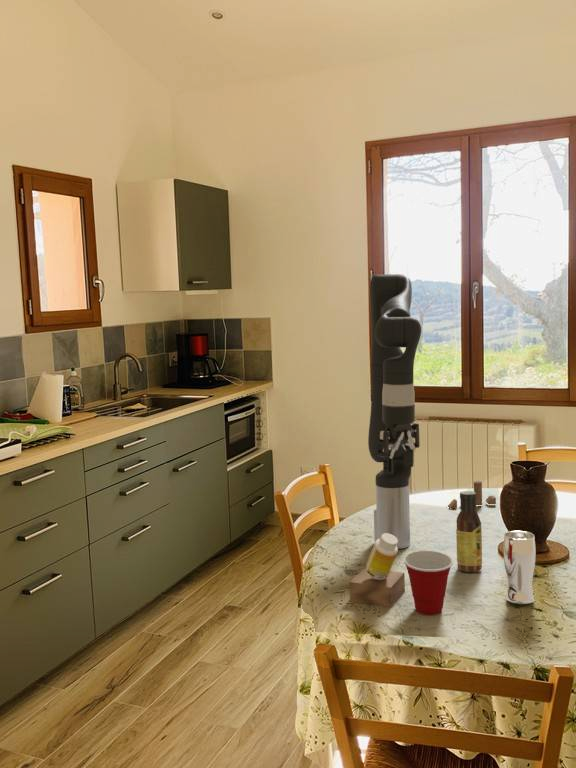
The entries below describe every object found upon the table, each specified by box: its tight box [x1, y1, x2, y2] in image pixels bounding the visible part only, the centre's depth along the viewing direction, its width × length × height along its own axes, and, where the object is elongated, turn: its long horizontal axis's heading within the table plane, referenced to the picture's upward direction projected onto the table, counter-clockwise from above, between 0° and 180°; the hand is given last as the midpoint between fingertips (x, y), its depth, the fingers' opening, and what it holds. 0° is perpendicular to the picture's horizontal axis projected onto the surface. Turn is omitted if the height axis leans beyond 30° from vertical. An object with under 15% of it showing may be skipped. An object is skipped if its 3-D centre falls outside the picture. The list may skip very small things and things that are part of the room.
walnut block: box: [349, 567, 406, 608], centre depth 176 cm, size 10×10×5 cm
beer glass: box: [503, 530, 537, 605], centre depth 170 cm, size 7×7×15 cm
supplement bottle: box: [364, 533, 399, 580], centre depth 173 cm, size 6×6×10 cm
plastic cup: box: [403, 549, 454, 616], centre depth 166 cm, size 11×11×12 cm
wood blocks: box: [447, 480, 497, 509], centre depth 242 cm, size 25×3×10 cm, turn 96°
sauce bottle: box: [455, 490, 483, 574], centre depth 191 cm, size 6×6×20 cm
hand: (398, 470), depth 178 cm, fingers open, 8 cm apart
